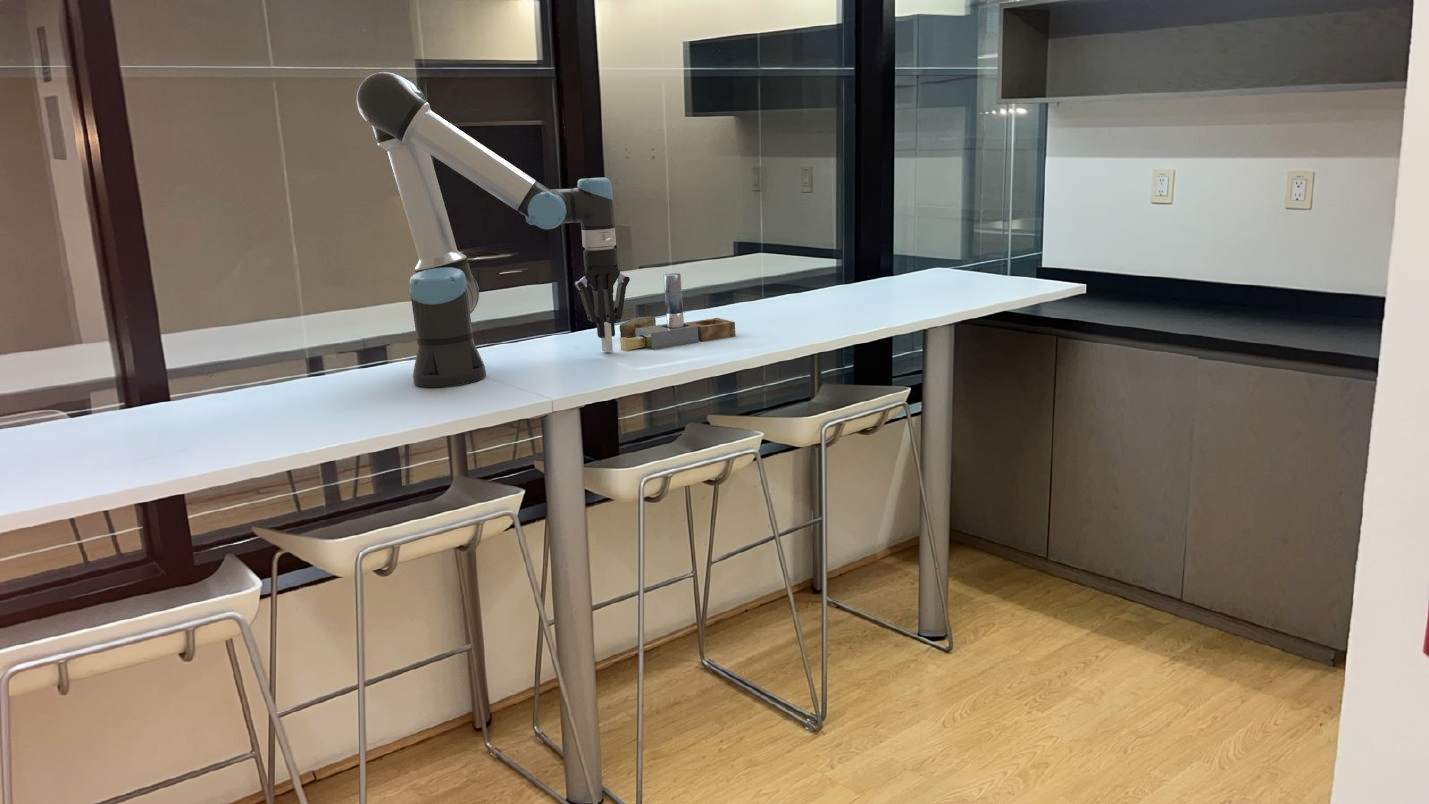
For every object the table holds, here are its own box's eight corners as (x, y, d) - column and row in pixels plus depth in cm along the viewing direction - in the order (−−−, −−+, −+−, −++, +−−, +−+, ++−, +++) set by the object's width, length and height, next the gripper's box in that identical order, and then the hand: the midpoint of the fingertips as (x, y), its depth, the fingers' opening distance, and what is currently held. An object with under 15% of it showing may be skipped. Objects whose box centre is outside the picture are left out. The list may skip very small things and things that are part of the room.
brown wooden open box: (702, 343, 249) (701, 327, 248) (685, 339, 257) (684, 322, 256) (735, 338, 253) (734, 322, 252) (717, 333, 261) (716, 317, 260)
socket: (652, 352, 243) (651, 333, 242) (636, 346, 251) (635, 328, 250) (698, 344, 249) (697, 326, 248) (681, 339, 256) (680, 321, 255)
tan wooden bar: (626, 351, 243) (625, 339, 243) (621, 349, 246) (620, 337, 245) (660, 346, 247) (659, 334, 247) (654, 344, 250) (653, 332, 249)
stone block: (658, 334, 267) (656, 315, 265) (641, 344, 256) (639, 323, 255) (636, 334, 268) (635, 315, 267) (619, 344, 258) (617, 323, 257)
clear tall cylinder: (672, 344, 248) (667, 276, 244) (665, 341, 252) (660, 274, 248) (688, 341, 250) (683, 274, 246) (680, 339, 253) (675, 272, 250)
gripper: (578, 251, 231) (587, 357, 237) (633, 246, 237) (640, 349, 243) (566, 249, 238) (575, 352, 243) (619, 244, 244) (626, 345, 249)
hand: (607, 351), depth 243 cm, fingers closed
